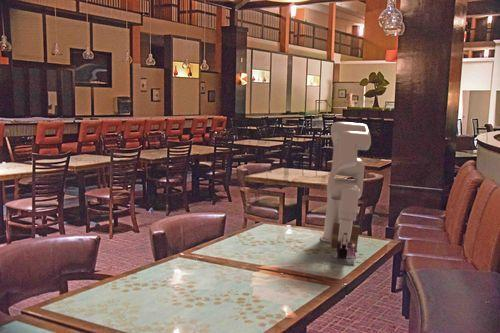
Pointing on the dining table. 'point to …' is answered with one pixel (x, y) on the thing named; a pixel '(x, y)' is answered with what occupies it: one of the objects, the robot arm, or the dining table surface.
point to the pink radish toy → (347, 251)
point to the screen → (352, 240)
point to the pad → (342, 261)
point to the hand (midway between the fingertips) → (342, 255)
